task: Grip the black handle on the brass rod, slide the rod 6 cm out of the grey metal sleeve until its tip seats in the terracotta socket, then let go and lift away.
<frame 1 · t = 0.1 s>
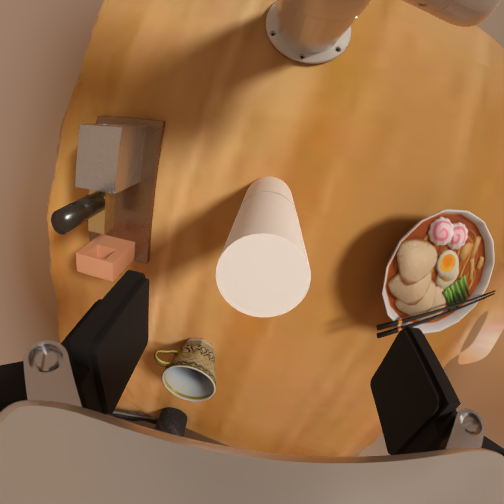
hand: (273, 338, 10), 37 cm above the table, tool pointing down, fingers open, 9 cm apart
ramen bowl: (426, 258, 47), on the table
socket: (119, 243, 50), resting on sleeve
sleeve: (122, 189, 46), on the table
travel mug: (174, 414, 69), on the table
cylindrical container: (268, 199, 46), on the table
ceramic cup: (193, 344, 58), on the table
slip tube: (86, 186, 34), point 11 cm above the table, slide at 0.0 cm
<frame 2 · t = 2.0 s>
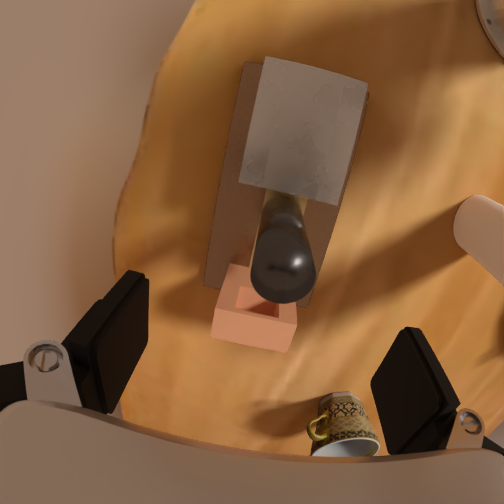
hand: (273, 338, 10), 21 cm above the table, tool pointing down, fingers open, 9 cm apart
socket: (259, 277, 34), resting on sleeve
sleeve: (280, 191, 30), on the table
cylindrical container: (474, 222, 29), on the table
ceramic cup: (332, 399, 42), on the table
slip tube: (293, 185, 18), point 12 cm above the table, slide at 0.0 cm
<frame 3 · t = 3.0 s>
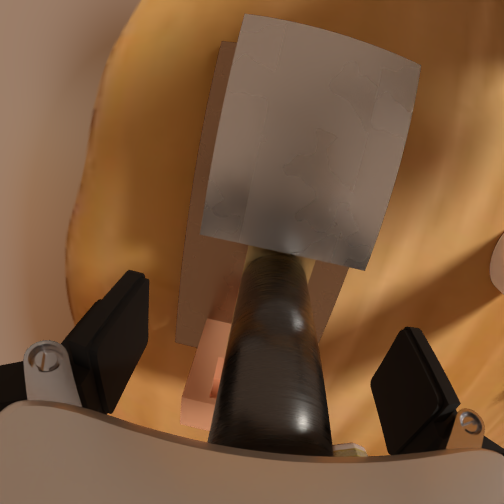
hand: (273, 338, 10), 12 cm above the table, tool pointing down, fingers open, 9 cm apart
socket: (246, 333, 25), resting on sleeve
sleeve: (274, 225, 21), on the table
ceramic cup: (334, 450, 34), on the table
slip tube: (295, 250, 10), point 11 cm above the table, slide at 0.0 cm
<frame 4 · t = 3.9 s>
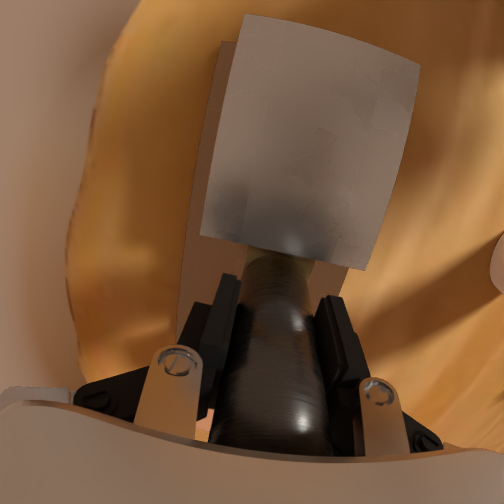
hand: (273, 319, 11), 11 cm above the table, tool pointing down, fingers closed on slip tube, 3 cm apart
sleeve: (274, 225, 21), on the table
slip tube: (295, 250, 10), point 11 cm above the table, slide at 0.0 cm, touching gripper
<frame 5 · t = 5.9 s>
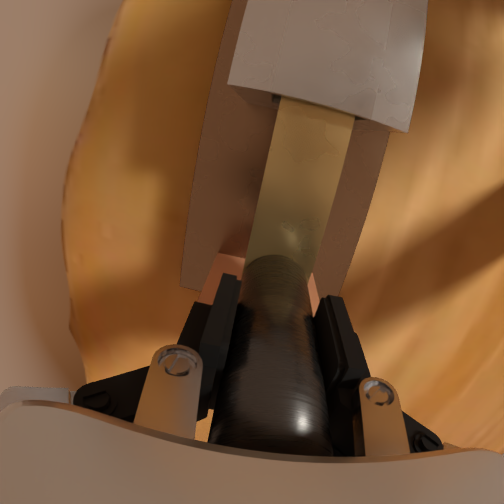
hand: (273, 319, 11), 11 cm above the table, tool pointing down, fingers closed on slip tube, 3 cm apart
socket: (261, 274, 23), resting on sleeve
sleeve: (293, 143, 19), on the table
slip tube: (295, 250, 10), point 11 cm above the table, slide at 6.0 cm, touching gripper
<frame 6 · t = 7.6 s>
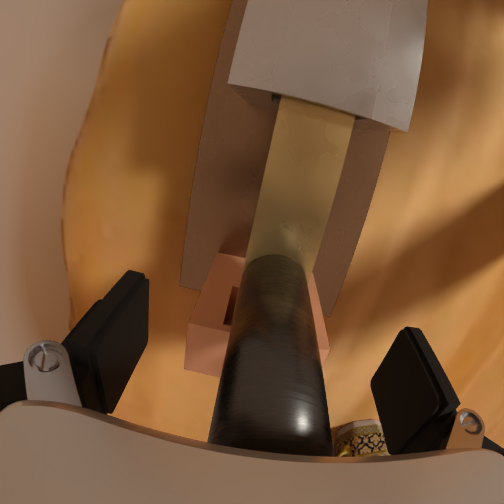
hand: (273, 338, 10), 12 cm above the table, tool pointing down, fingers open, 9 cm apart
socket: (261, 274, 23), resting on sleeve
sleeve: (293, 143, 19), on the table
ceramic cup: (352, 428, 31), on the table
slip tube: (295, 249, 10), point 11 cm above the table, slide at 6.0 cm
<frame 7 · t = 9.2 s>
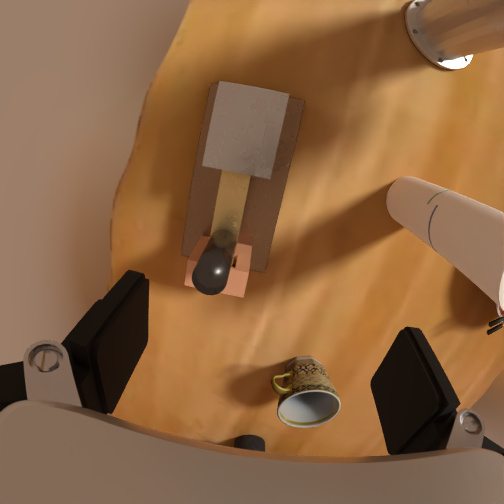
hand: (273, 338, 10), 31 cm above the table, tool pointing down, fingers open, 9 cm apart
socket: (225, 248, 43), resting on sleeve
sleeve: (239, 178, 39), on the table
travel mug: (249, 441, 61), on the table
cylindrical container: (407, 200, 39), on the table
ceramic cup: (297, 364, 50), on the table
slip tube: (224, 224, 29), point 11 cm above the table, slide at 6.0 cm
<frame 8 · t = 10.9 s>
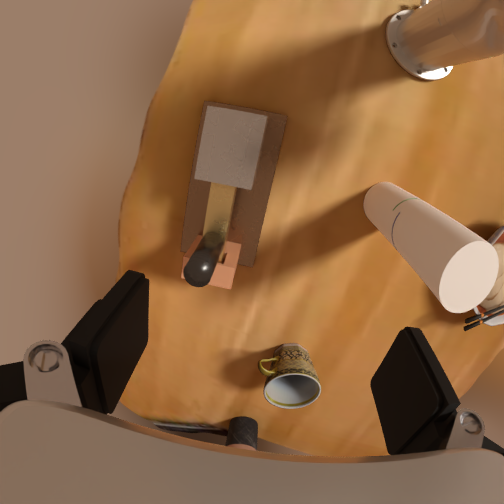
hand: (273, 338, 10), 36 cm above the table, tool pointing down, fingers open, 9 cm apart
ramen bowl: (495, 258, 46), on the table
socket: (219, 245, 49), resting on sleeve
sleeve: (230, 185, 45), on the table
travel mug: (243, 423, 68), on the table
cylindrical container: (383, 203, 44), on the table
ceramic cup: (285, 350, 57), on the table
slip tube: (212, 228, 35), point 11 cm above the table, slide at 6.0 cm
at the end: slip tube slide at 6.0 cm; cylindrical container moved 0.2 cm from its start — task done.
